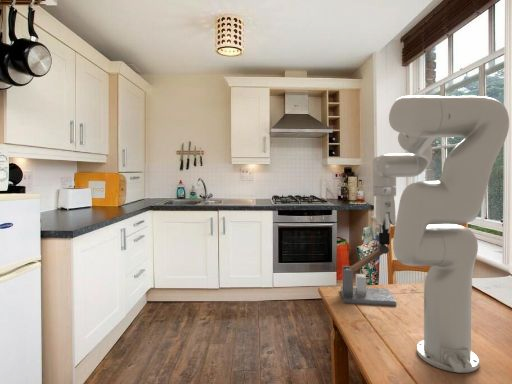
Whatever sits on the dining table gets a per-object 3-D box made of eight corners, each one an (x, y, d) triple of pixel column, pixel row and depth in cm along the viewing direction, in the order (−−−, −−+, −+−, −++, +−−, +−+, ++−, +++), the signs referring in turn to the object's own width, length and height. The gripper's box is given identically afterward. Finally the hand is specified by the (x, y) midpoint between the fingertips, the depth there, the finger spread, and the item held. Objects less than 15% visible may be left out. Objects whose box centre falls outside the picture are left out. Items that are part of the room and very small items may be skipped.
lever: (390, 251, 107) (385, 244, 107) (347, 278, 110) (343, 271, 110) (386, 247, 113) (382, 241, 113) (346, 273, 116) (341, 267, 116)
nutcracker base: (396, 305, 105) (396, 274, 104) (343, 303, 108) (343, 272, 107) (388, 293, 116) (388, 264, 116) (340, 290, 120) (340, 263, 119)
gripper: (401, 192, 101) (401, 249, 102) (390, 190, 116) (390, 240, 117) (377, 193, 103) (377, 248, 104) (369, 191, 118) (369, 239, 118)
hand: (384, 243), depth 110 cm, fingers closed
